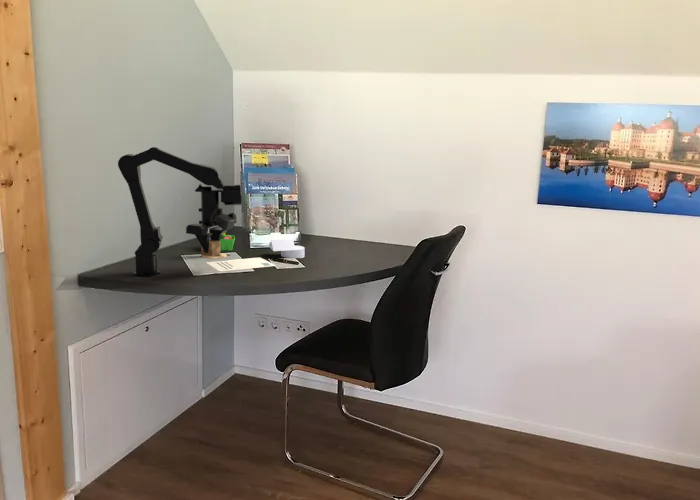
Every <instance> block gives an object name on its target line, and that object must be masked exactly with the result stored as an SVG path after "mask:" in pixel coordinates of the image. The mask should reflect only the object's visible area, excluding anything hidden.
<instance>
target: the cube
mask: <svg viewBox="0 0 700 500" xmlns="http://www.w3.org/2000/svg"><path fill="white" fill-rule="evenodd" d="M200 249H201V250H200V252H201V253H200V255H201V256H202V255H204V256H211V257H213V256H217V255H220V254H221V253H222V252H221V251H222V250H221V244H220V241H214V240H209V250H208V253H205V252H204V250H203V248H202V246H201V245H200Z"/></svg>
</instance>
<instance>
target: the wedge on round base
mask: <svg viewBox="0 0 700 500" xmlns="http://www.w3.org/2000/svg"><path fill="white" fill-rule="evenodd" d="M268 248H270V249H271V250H272V251H273V252H280V256H281V257H283V258H285V259H287V258H288V259H303V258H305V254H306V253H305V252H306V251H305V248H306V247H305V246H302V245H295V242H294V238H289V239H288V238H287V239H286V238H285V239H271V240H270V241H269V245H268Z"/></svg>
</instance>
